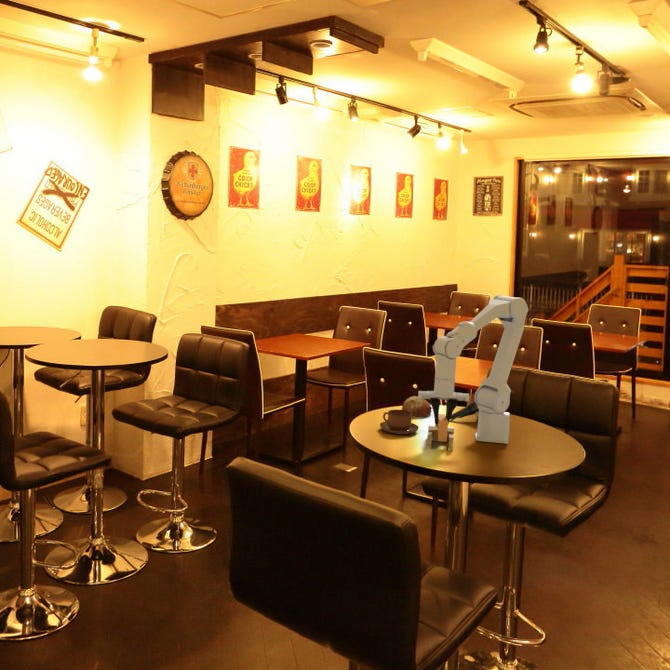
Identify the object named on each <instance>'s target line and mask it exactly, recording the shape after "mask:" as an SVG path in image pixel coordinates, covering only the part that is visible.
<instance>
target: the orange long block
mask: <svg viewBox="0 0 670 670" xmlns="http://www.w3.org/2000/svg"><path fill="white" fill-rule="evenodd" d="M434 425H435V427H439V428H438V432H436V431H435V435H438V442H445V441H447V431H448V427H449V424H448V420H447V418H446V414H444V413H439V414H438V425H437V424H435V423H434Z"/></svg>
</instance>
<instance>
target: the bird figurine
mask: <svg viewBox="0 0 670 670" xmlns="http://www.w3.org/2000/svg"><path fill="white" fill-rule="evenodd" d="M494 390H497V389H496V388H494ZM510 390H511V393H513V394H515V392H514V391H513V390H512V389H510ZM497 391H498V390H497ZM511 393H510V394H511ZM472 415H473V416H475V417H476V419H478V416H479V409H478V405H477V404H476V402H475V399H473V401H471V402H470V403H469V404H468V405H467V406H465V407H463V408H461V409H460V410H457V411H456V412H453V413H452V415H451V417H450V420H449V422H452V421H455V420H457V419H462V418H465V417H468V416H472Z"/></svg>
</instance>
